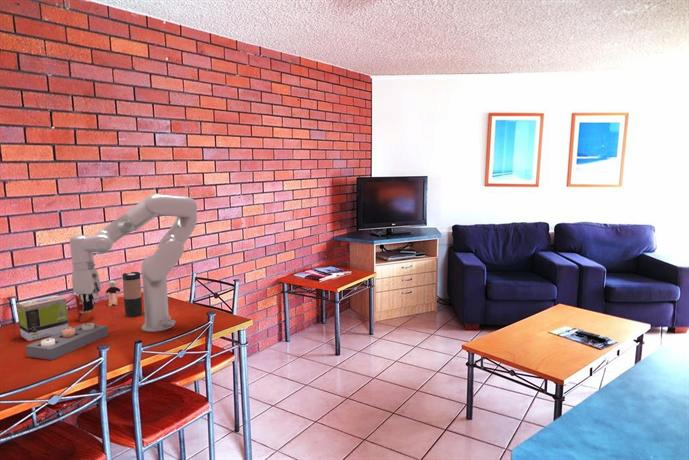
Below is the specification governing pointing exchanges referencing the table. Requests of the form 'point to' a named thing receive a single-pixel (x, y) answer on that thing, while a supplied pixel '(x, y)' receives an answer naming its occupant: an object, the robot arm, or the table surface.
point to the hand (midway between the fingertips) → (88, 309)
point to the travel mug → (132, 294)
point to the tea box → (42, 317)
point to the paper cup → (81, 313)
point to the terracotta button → (68, 332)
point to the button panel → (66, 343)
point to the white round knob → (48, 342)
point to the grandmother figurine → (112, 293)
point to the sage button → (88, 326)
